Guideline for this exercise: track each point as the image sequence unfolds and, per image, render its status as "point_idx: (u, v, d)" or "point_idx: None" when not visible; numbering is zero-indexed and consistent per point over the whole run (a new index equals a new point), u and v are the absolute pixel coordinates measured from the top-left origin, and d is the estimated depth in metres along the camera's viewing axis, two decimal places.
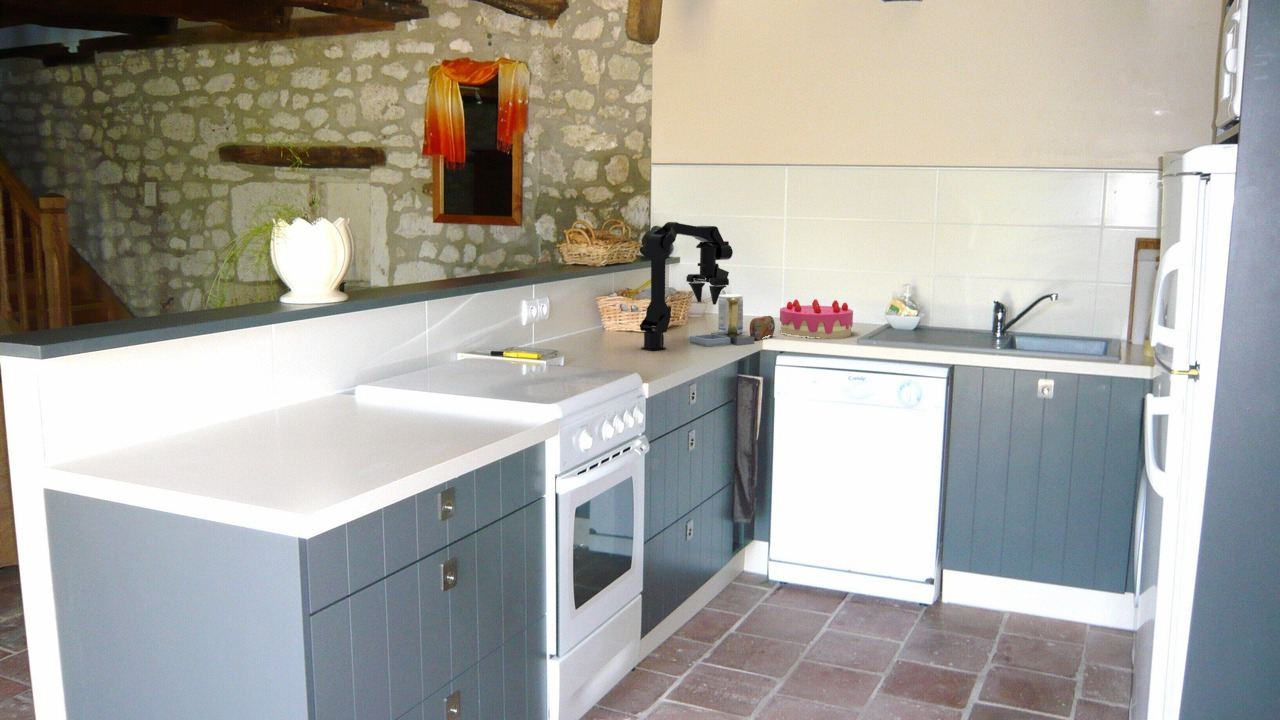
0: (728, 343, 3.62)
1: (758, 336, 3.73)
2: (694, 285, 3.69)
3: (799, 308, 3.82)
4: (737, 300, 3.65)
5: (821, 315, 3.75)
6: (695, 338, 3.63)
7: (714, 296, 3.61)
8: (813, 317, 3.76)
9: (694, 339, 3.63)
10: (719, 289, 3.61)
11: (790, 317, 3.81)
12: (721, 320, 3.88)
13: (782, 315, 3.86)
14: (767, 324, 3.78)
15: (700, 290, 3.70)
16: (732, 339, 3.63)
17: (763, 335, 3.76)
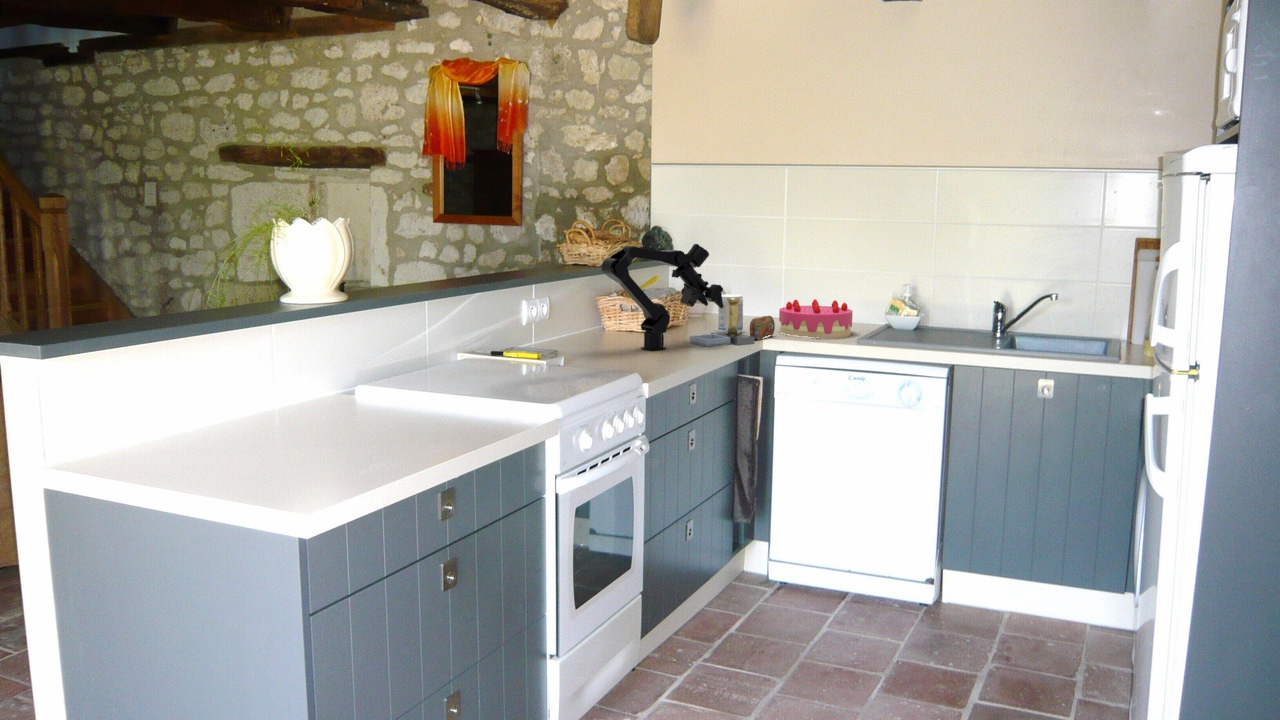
0: (728, 343, 3.62)
1: (758, 336, 3.73)
2: None
3: (798, 308, 3.81)
4: (737, 300, 3.65)
5: (820, 315, 3.75)
6: (695, 338, 3.63)
7: None
8: (812, 318, 3.76)
9: (694, 339, 3.63)
10: None
11: (789, 317, 3.81)
12: (721, 320, 3.88)
13: (781, 315, 3.86)
14: (767, 324, 3.78)
15: None
16: (732, 339, 3.63)
17: (763, 335, 3.76)
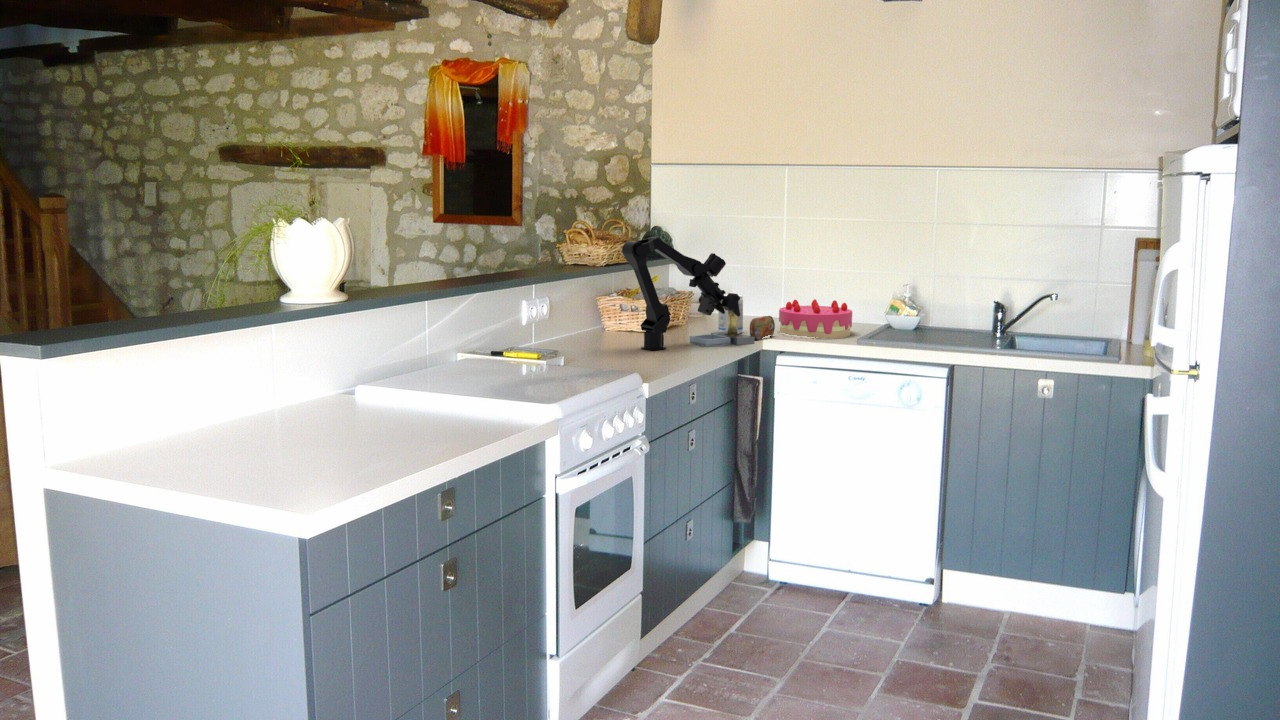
0: (728, 343, 3.62)
1: (758, 336, 3.73)
2: None
3: (798, 308, 3.81)
4: None
5: (820, 315, 3.75)
6: (695, 338, 3.63)
7: None
8: (812, 318, 3.76)
9: (694, 339, 3.63)
10: None
11: (789, 317, 3.81)
12: (721, 320, 3.88)
13: (781, 315, 3.86)
14: (767, 324, 3.78)
15: None
16: (732, 339, 3.63)
17: (763, 335, 3.76)
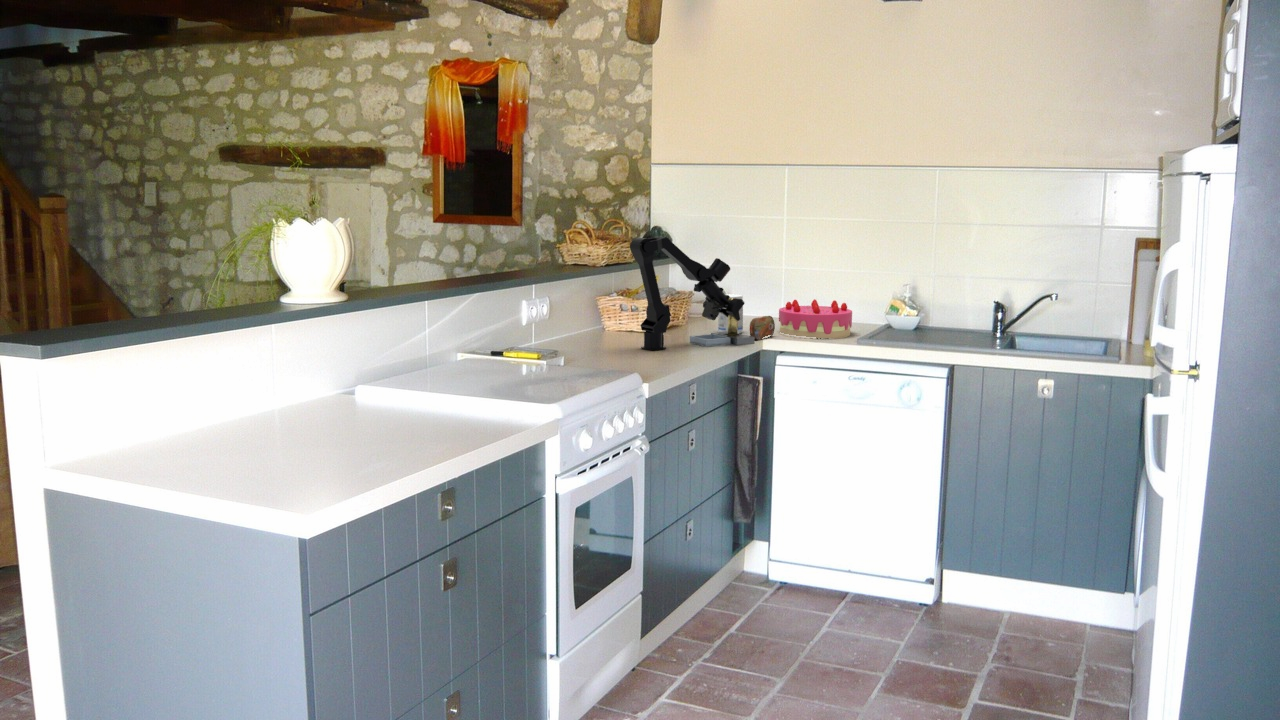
0: (728, 343, 3.62)
1: (758, 336, 3.73)
2: None
3: (798, 308, 3.81)
4: None
5: (820, 315, 3.75)
6: (695, 338, 3.63)
7: None
8: (812, 318, 3.75)
9: (694, 339, 3.63)
10: None
11: (789, 317, 3.81)
12: (721, 319, 3.88)
13: (781, 315, 3.86)
14: (767, 324, 3.78)
15: None
16: (732, 339, 3.63)
17: (763, 335, 3.76)
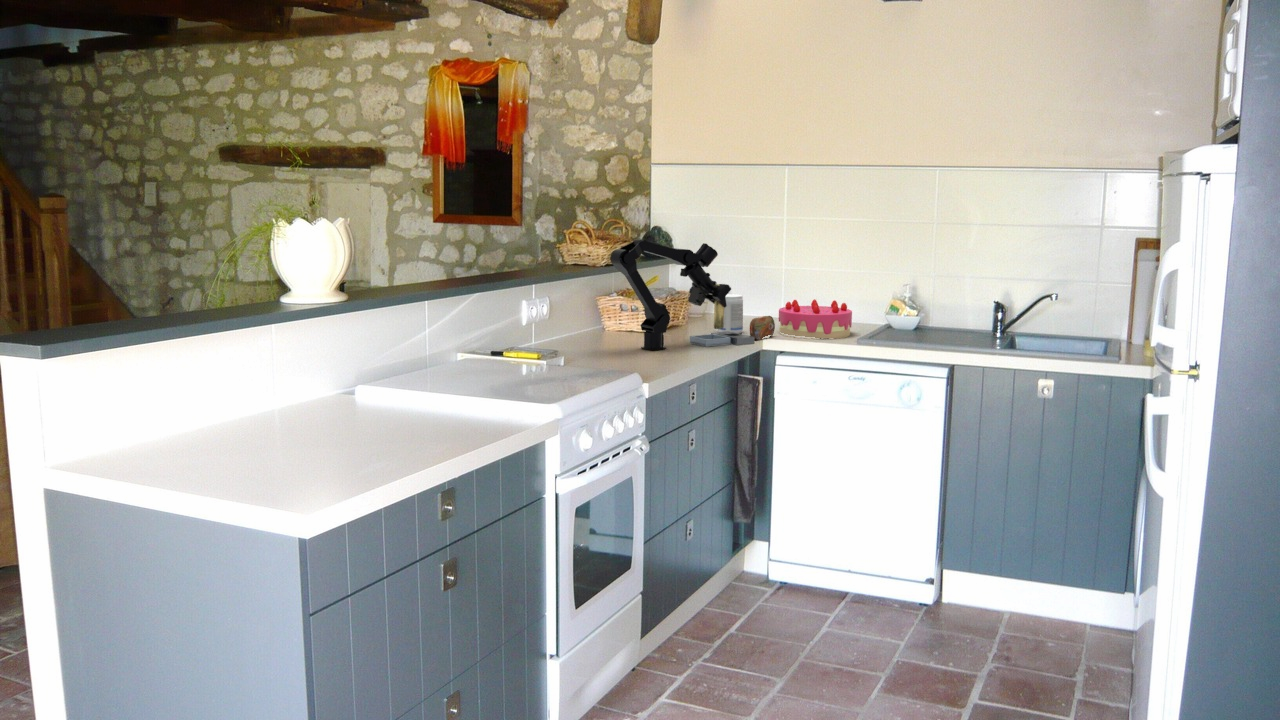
0: (728, 343, 3.62)
1: (758, 336, 3.73)
2: None
3: (798, 308, 3.81)
4: None
5: (820, 315, 3.75)
6: (695, 338, 3.63)
7: None
8: (811, 318, 3.75)
9: (694, 339, 3.63)
10: None
11: (789, 317, 3.80)
12: None
13: (781, 315, 3.86)
14: (767, 324, 3.78)
15: None
16: (732, 339, 3.63)
17: (763, 335, 3.76)
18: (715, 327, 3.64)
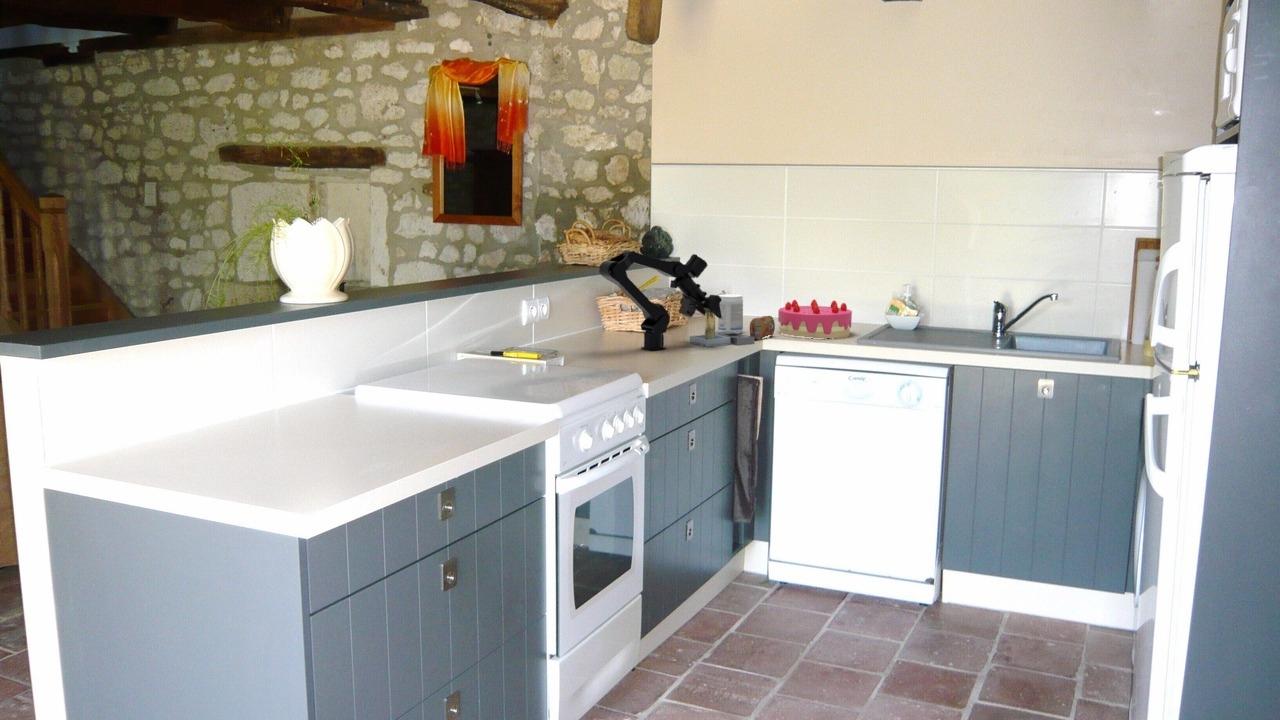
0: (728, 343, 3.62)
1: (758, 336, 3.73)
2: None
3: (798, 308, 3.81)
4: None
5: (820, 315, 3.74)
6: (695, 338, 3.63)
7: None
8: (811, 318, 3.75)
9: (694, 339, 3.63)
10: None
11: (789, 317, 3.80)
12: (721, 319, 3.88)
13: (781, 315, 3.85)
14: (767, 324, 3.78)
15: None
16: (732, 339, 3.63)
17: (763, 335, 3.76)
18: None
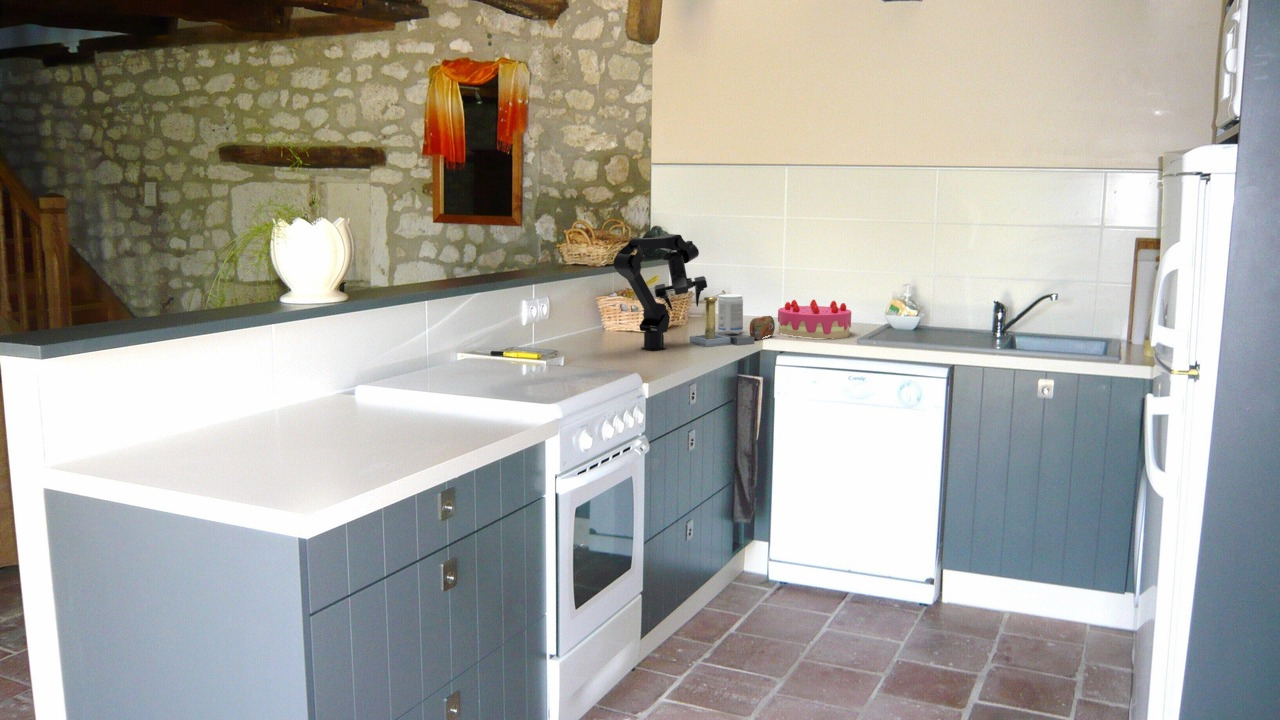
0: (728, 343, 3.62)
1: (758, 336, 3.73)
2: None
3: (797, 308, 3.80)
4: (714, 299, 3.59)
5: (819, 315, 3.74)
6: (695, 338, 3.63)
7: None
8: (811, 318, 3.75)
9: (694, 339, 3.63)
10: None
11: (788, 317, 3.80)
12: (721, 320, 3.88)
13: (780, 315, 3.85)
14: (767, 324, 3.78)
15: (695, 295, 3.60)
16: (732, 339, 3.63)
17: (763, 335, 3.76)
18: None
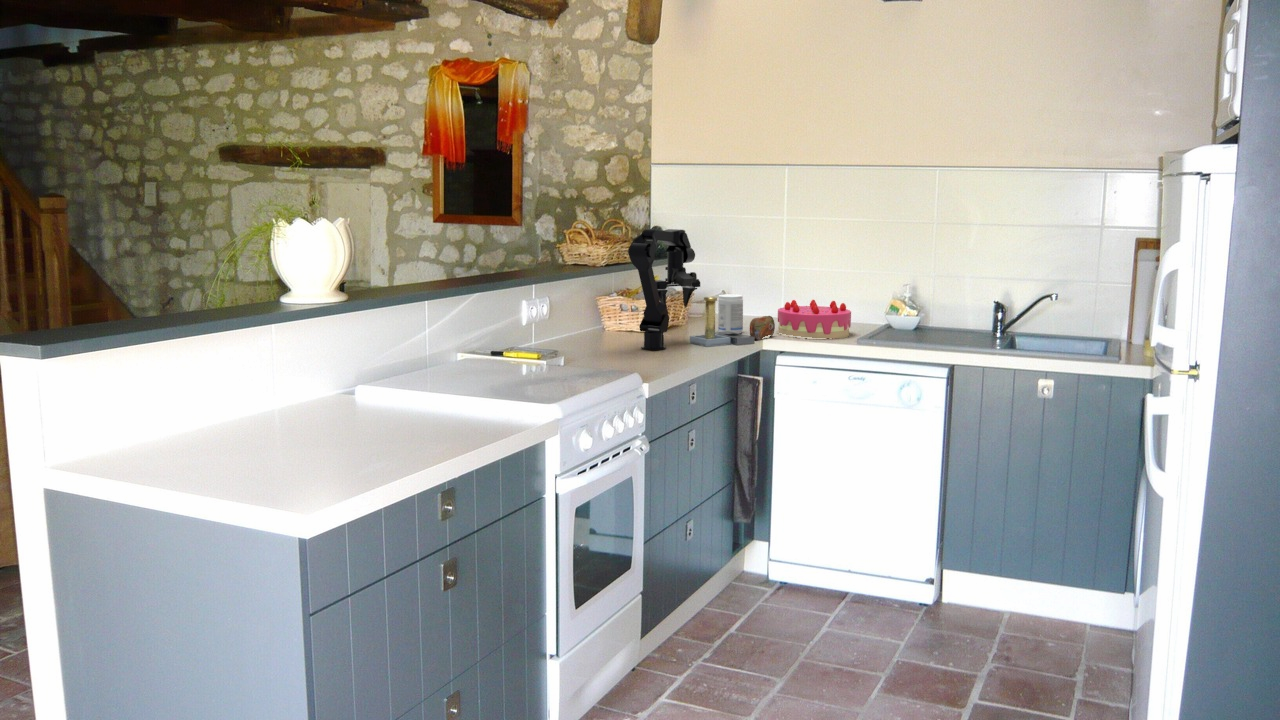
0: (728, 343, 3.62)
1: (758, 336, 3.73)
2: (683, 289, 3.66)
3: (797, 309, 3.80)
4: (714, 299, 3.60)
5: (819, 316, 3.74)
6: (695, 338, 3.63)
7: (660, 299, 3.60)
8: (811, 318, 3.74)
9: (694, 339, 3.63)
10: None
11: (788, 318, 3.79)
12: (721, 319, 3.88)
13: (780, 316, 3.85)
14: (767, 324, 3.78)
15: (686, 295, 3.64)
16: (732, 339, 3.63)
17: (763, 335, 3.76)
18: None
